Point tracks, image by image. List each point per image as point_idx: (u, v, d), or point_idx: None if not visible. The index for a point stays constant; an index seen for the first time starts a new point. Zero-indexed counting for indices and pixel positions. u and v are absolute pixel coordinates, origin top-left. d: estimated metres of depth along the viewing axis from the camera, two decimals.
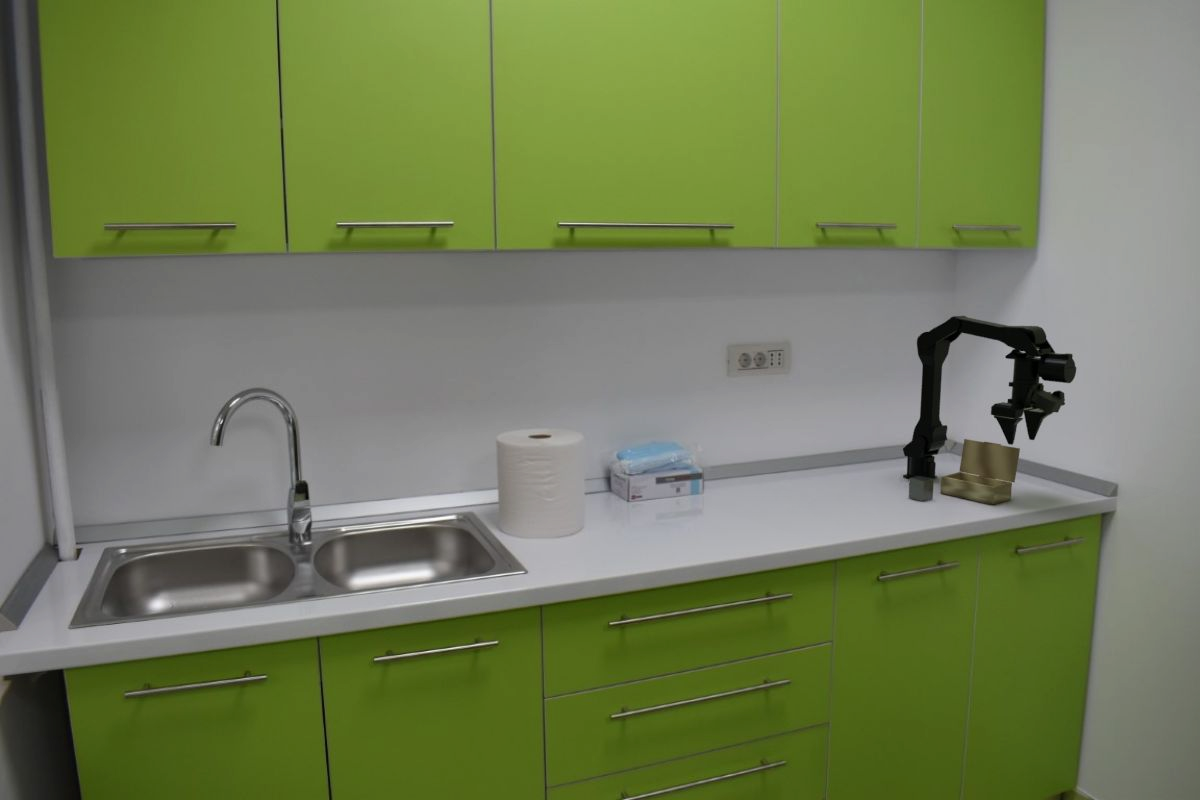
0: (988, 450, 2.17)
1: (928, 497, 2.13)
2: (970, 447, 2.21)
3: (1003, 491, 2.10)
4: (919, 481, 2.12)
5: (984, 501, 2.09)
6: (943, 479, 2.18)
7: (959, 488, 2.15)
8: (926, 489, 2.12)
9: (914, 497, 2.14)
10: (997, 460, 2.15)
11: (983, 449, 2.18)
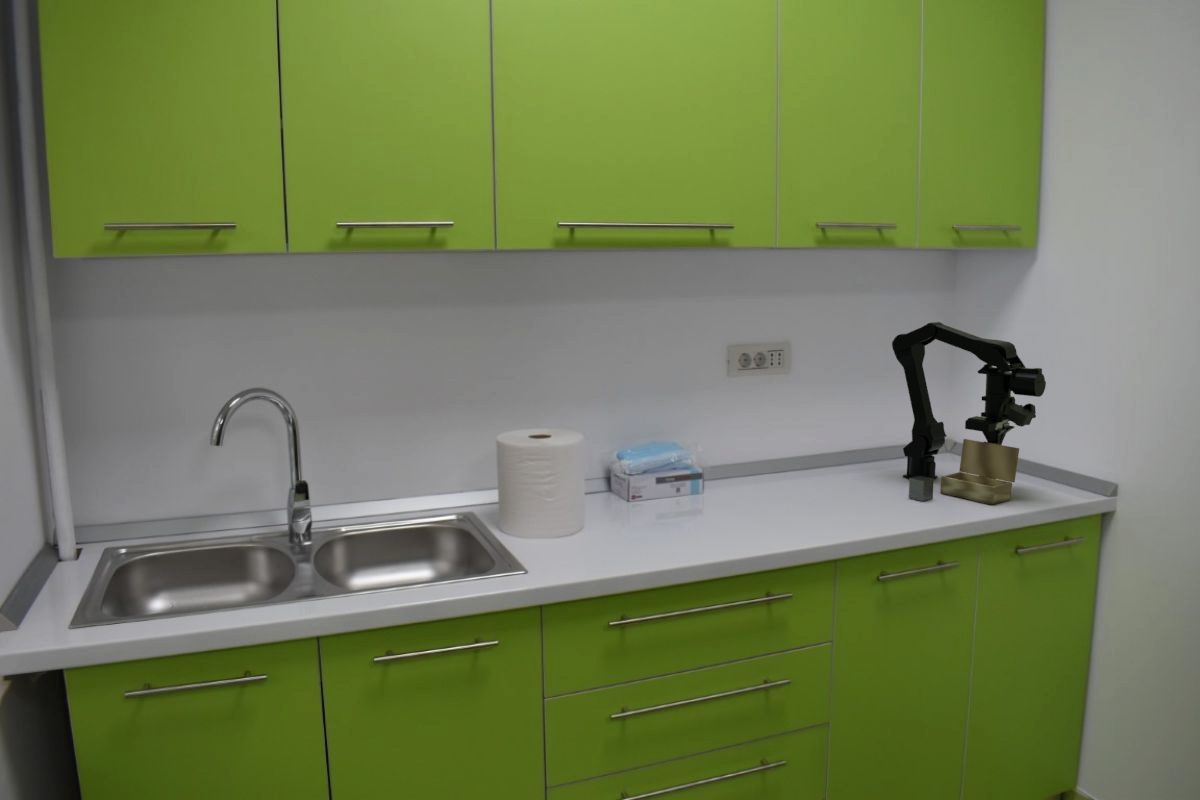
0: (987, 450, 2.17)
1: (928, 497, 2.13)
2: (969, 447, 2.21)
3: (1003, 491, 2.10)
4: (919, 481, 2.12)
5: (984, 501, 2.09)
6: (943, 479, 2.18)
7: (959, 488, 2.15)
8: (926, 489, 2.12)
9: (914, 497, 2.14)
10: (997, 460, 2.15)
11: (982, 449, 2.18)
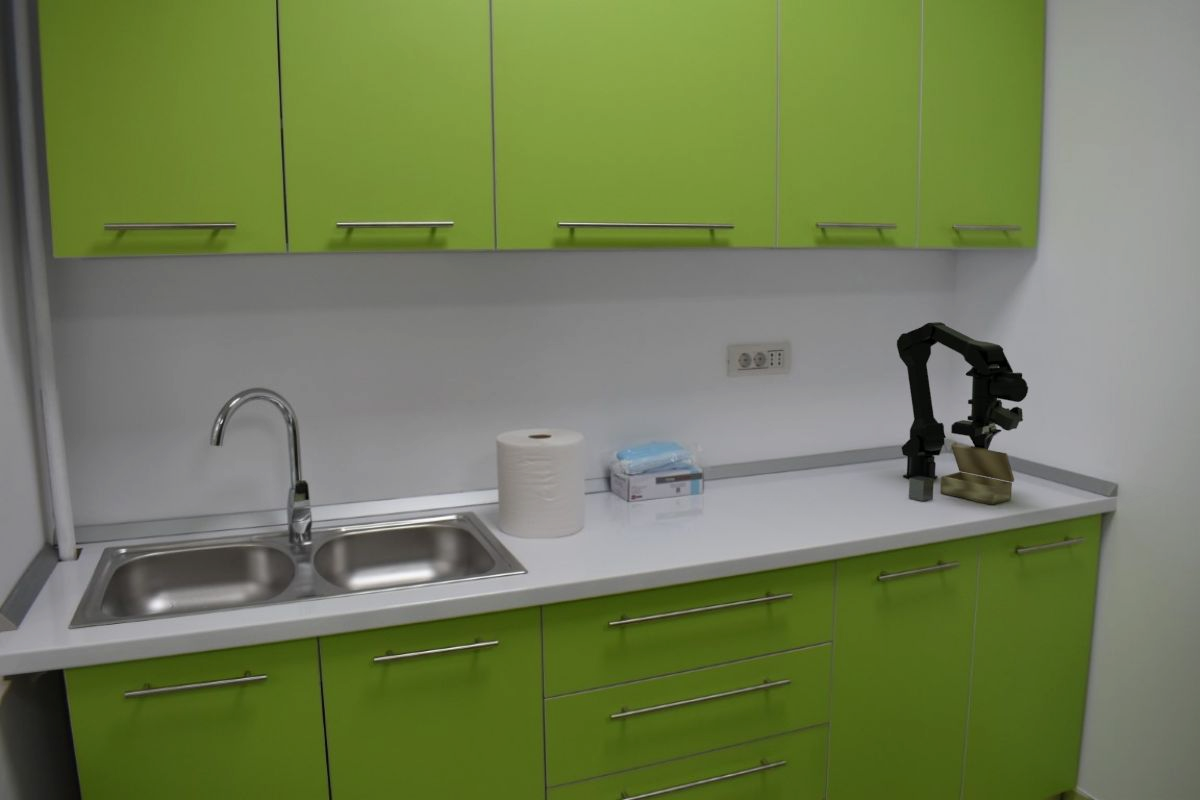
0: (977, 455, 2.15)
1: (928, 497, 2.13)
2: (960, 452, 2.19)
3: (1003, 491, 2.10)
4: (919, 481, 2.12)
5: (984, 501, 2.09)
6: (943, 479, 2.18)
7: (959, 488, 2.15)
8: (926, 489, 2.12)
9: (914, 497, 2.14)
10: (990, 464, 2.13)
11: (972, 454, 2.16)
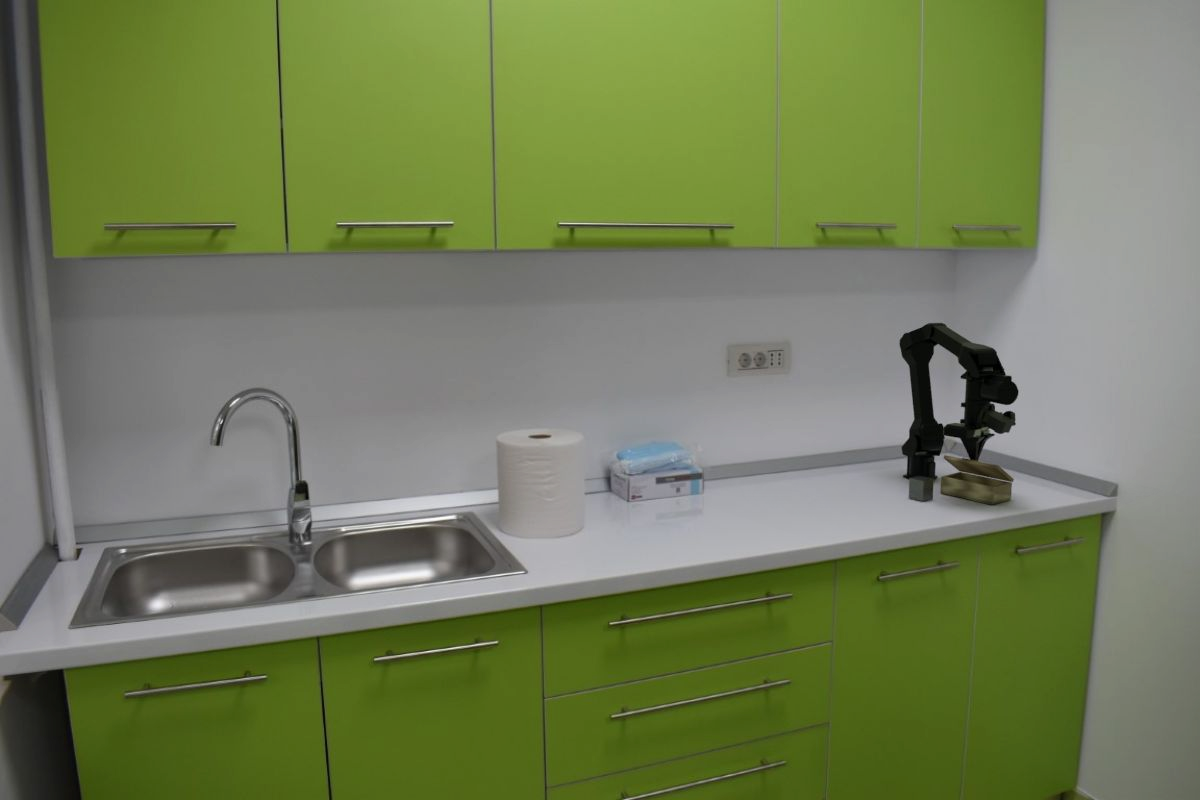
0: (971, 465, 2.14)
1: (928, 497, 2.13)
2: (954, 462, 2.18)
3: (1003, 491, 2.10)
4: (919, 481, 2.12)
5: (984, 501, 2.09)
6: (943, 479, 2.18)
7: (959, 488, 2.15)
8: (926, 489, 2.12)
9: (914, 497, 2.14)
10: (986, 471, 2.13)
11: (966, 464, 2.15)
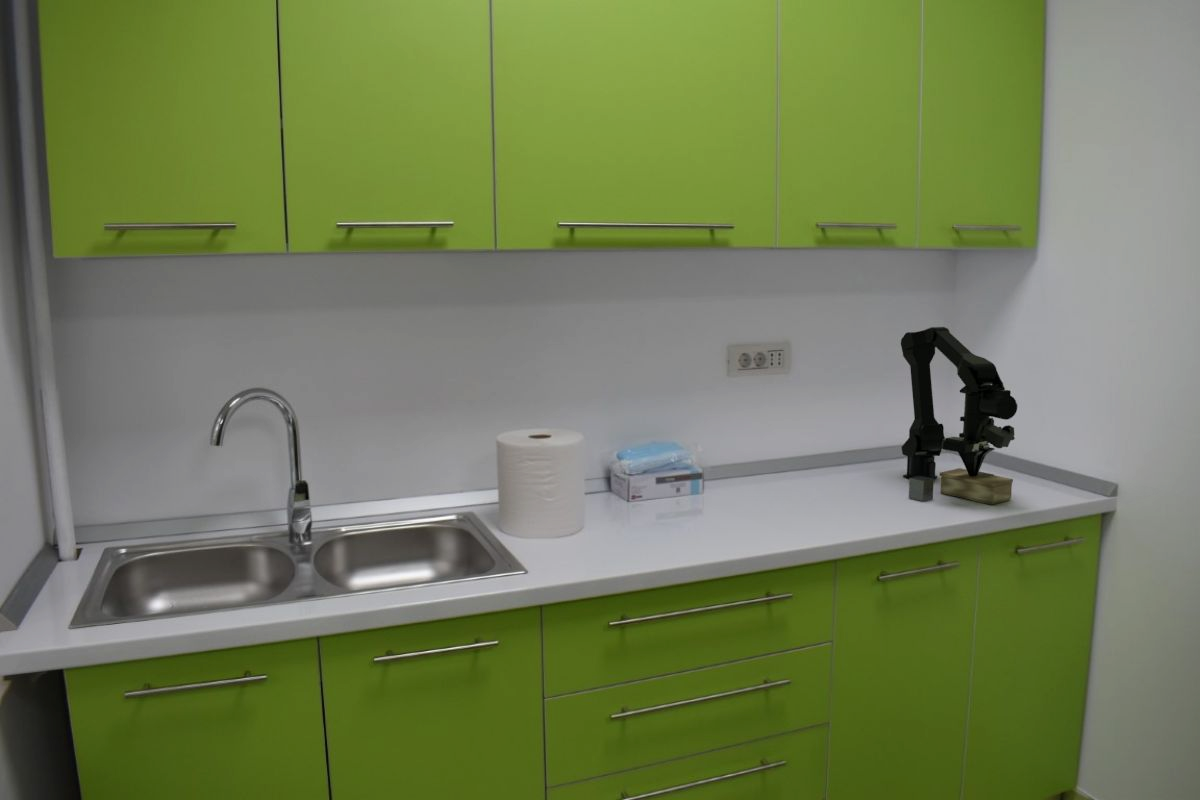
0: None
1: (928, 497, 2.13)
2: None
3: (1003, 491, 2.10)
4: (919, 481, 2.12)
5: (984, 501, 2.09)
6: (943, 479, 2.18)
7: (959, 488, 2.15)
8: (926, 489, 2.12)
9: (914, 497, 2.14)
10: None
11: None
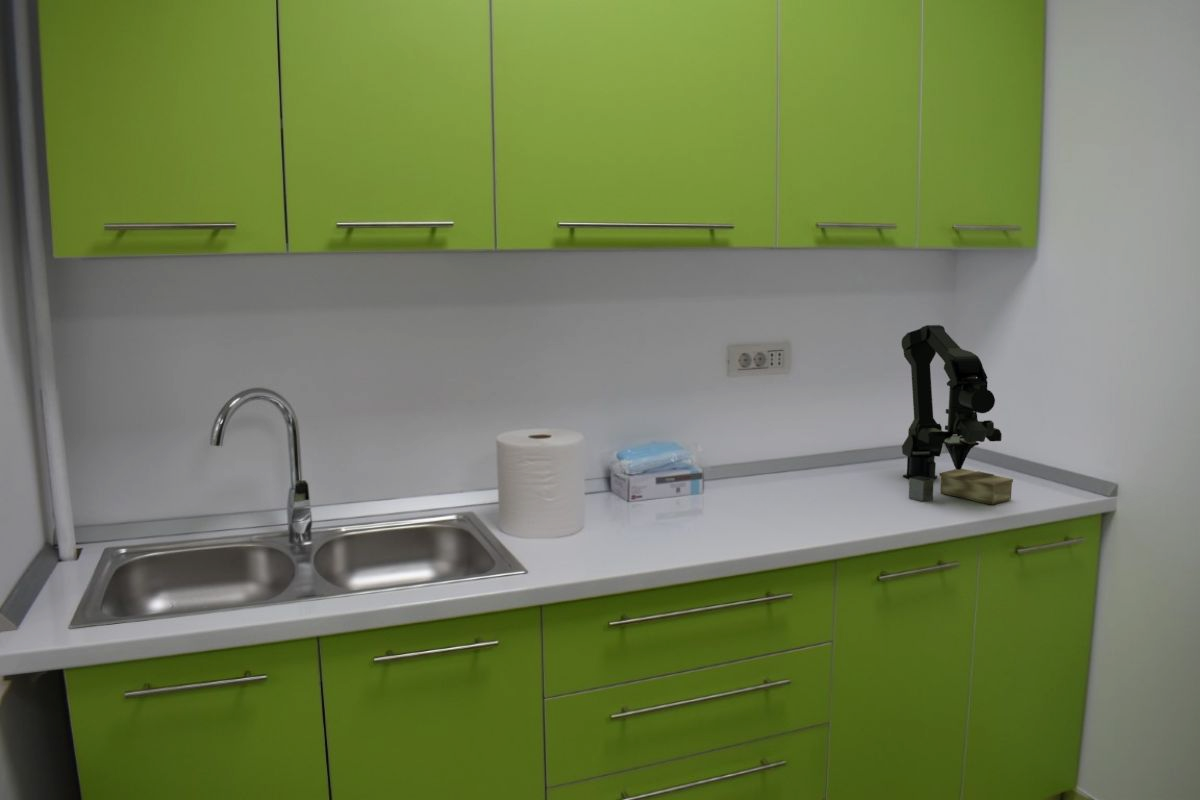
0: None
1: (928, 497, 2.13)
2: None
3: (1003, 491, 2.10)
4: (919, 481, 2.12)
5: (984, 501, 2.09)
6: (943, 479, 2.18)
7: (959, 488, 2.15)
8: (926, 489, 2.12)
9: (914, 497, 2.14)
10: None
11: None
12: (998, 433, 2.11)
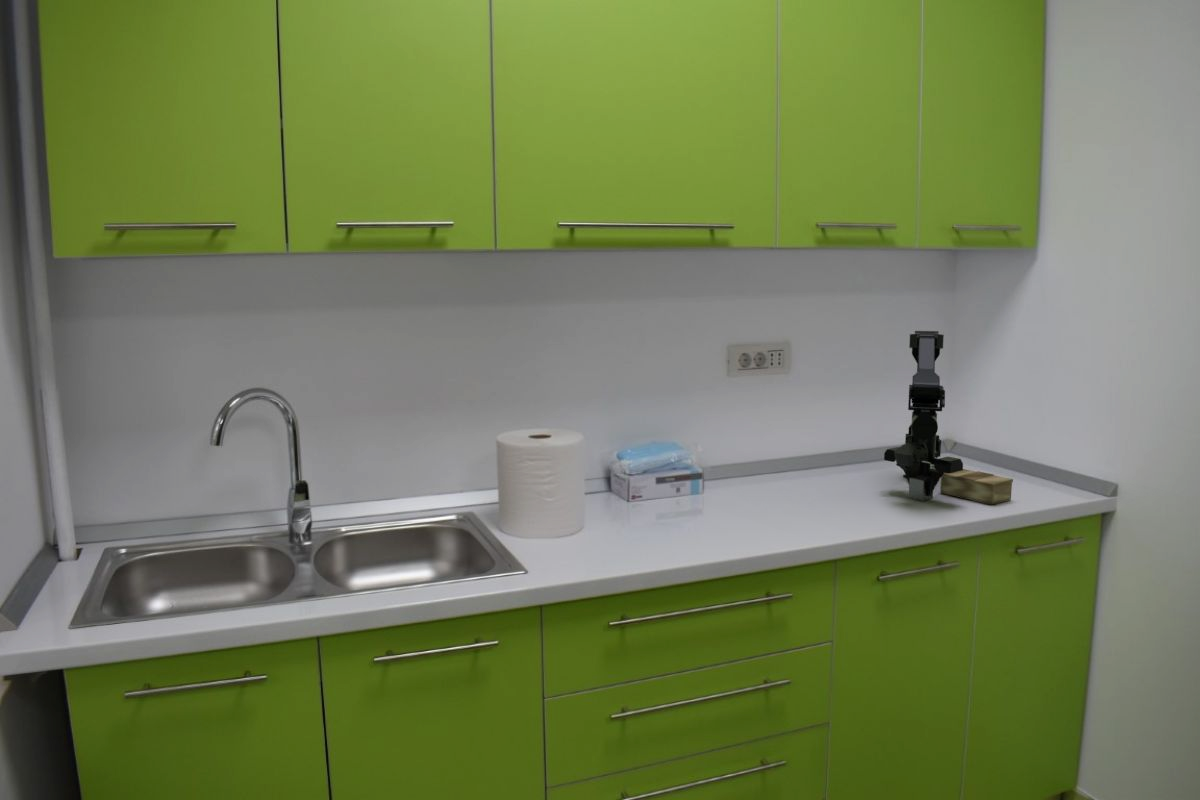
0: None
1: (928, 497, 2.13)
2: None
3: (1003, 491, 2.10)
4: (919, 481, 2.12)
5: (984, 501, 2.09)
6: (943, 479, 2.18)
7: (959, 488, 2.15)
8: None
9: (914, 497, 2.14)
10: None
11: None
12: (945, 464, 2.05)
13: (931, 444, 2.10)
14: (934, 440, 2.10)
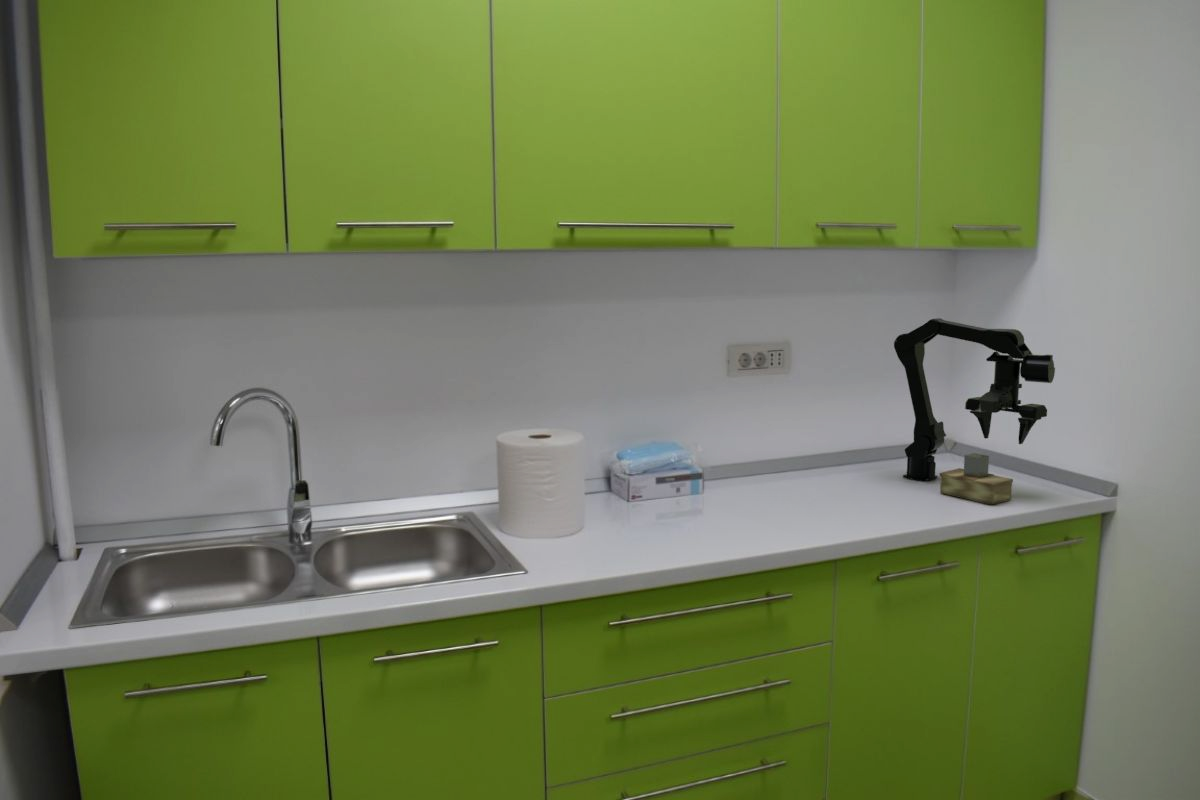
0: None
1: (983, 474, 2.13)
2: None
3: (1003, 491, 2.10)
4: (975, 458, 2.12)
5: (984, 501, 2.09)
6: (943, 479, 2.18)
7: (959, 488, 2.15)
8: (982, 466, 2.13)
9: (969, 474, 2.14)
10: None
11: None
12: (1030, 410, 2.10)
13: (1015, 392, 2.15)
14: (1017, 388, 2.16)
